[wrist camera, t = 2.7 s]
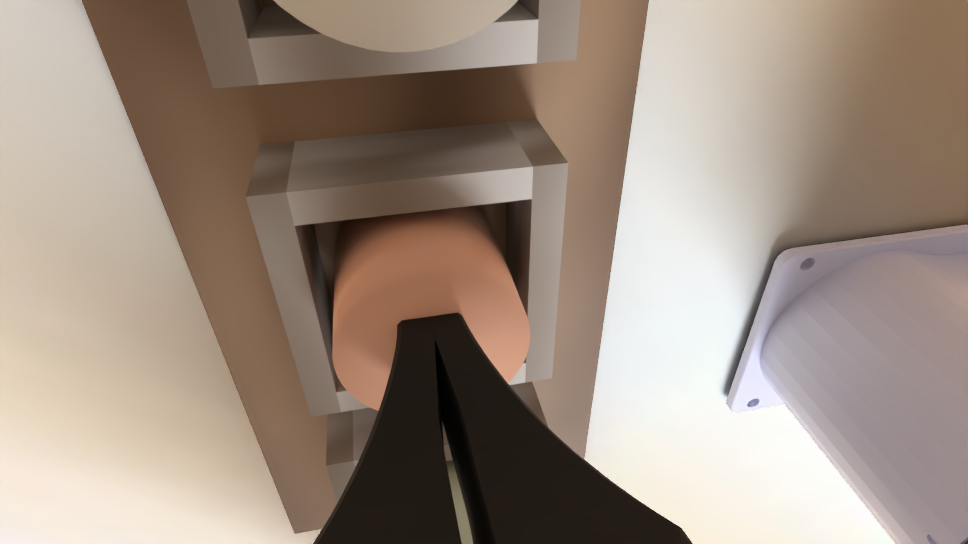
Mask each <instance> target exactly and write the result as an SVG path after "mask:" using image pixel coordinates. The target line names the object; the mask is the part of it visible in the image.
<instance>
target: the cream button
mask: <svg viewBox="0 0 968 544" xmlns="http://www.w3.org/2000/svg"><path fill="white" fill-rule="evenodd" d="M273 1H274V2H276V3H277V4H278V5H279V6H280V7H281V8H283V9H284V10H285V11H287V12H288V13H289V14H291V15H292V16H294V17H295V18H296V19H298V20H299V21H301V22H302V23H304V24H306V25H307V26H309V27H311V28H313V29H315V30H316V31H318V32H320V33H322V34H324V35H326V36H329V37H331V38H333V39H336V40H338V41H341V42H343V43H346V44H350V45H353V46H357V47H361V48H365V49H369V50H377V51H384V52H416V51H423V50H430V49H435V48H439V47H442V46H446V45H449V44H453V43H455V42H458V41H460V40H462V39H464V38H467V37H469V36H471V35H474V34H475V33H477V32H478V31H480V30H482V29H483V28H485V27H487V26H488V25H490V24H492V23H493V22H494V21H496V20H497V19H498V18H499V17H501V16H502V15H503V14H504V13H506V12H507V11H508V10H509V9H510V8H511V7H512V6H513V5H514V4H515V3H516V2H517V1H518V0H273Z"/></svg>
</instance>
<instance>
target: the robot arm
mask: <svg viewBox="0 0 968 544" xmlns="http://www.w3.org/2000/svg"><path fill="white" fill-rule="evenodd" d="M726 404H727V405H728V407H729V408H730V410H731V411H733V412H743V411H749V410H754V409H760V408H766V407H771V406H777V405H782V404H785V405H786V406H787V408H788V409H789V410H790V411H791V413H792V414H793V415H794V416H795V418H796V419H797V420H798V421H799V423H800V424H801V425H802V426H803V428H804V429H805V430H806V431H807V433H808V434H809V435H810V436H811V438H812V439H813V440H814V442H815V443H816V444H817V445H818V447H819V448H820V449H821V450H822V452H823V453H824V454H825V455H826V457H827V458H828V459H829V460H830V462H831V463H832V464H833V465H834V467H835V468H836V469H837V470H838V472H839V473H840V474H841V475H842V477H843V478H844V479H845V480H846V482H847V483H848V484H849V486H850V487H851V488H852V489H853V491H854V492H855V493H856V494H857V496H858V497H859V498H860V499H861V501H862V502H863V503H864V504H865V506H866V507H867V508H868V509H869V511H870V512H871V513H872V514H873V516H874V517H875V518H876V519H877V521H878V522H879V523H880V525H881V526H882V527H883V528H884V530H885V531H886V532H887V533H888V535H889V536H890V537H891V538H892V540H893V541H894V542H895V543H896V544H968V224H966V225H959V226H951V227H944V228H937V229H929V230H922V231H914V232H907V233H899V234H892V235H885V236H877V237H870V238H862V239H855V240H848V241H840V242H833V243H825V244H818V245H810V246H803V247H796V248H790V249H787V250H785V251H783V252H782V253H780V254H779V255H778V256H777V258H776V260H775V262H774V265H773V268H772V271H771V273H770V276H769V279H768V282H767V285H766V288H765V291H764V294H763V296H762V299H761V302H760V305H759V308H758V311H757V314H756V317H755V319H754V322H753V325H752V328H751V331H750V334H749V337H748V340H747V343H746V345H745V348H744V351H743V354H742V357H741V360H740V363H739V366H738V368H737V371H736V374H735V377H734V380H733V383H732V386H731V389H730V391H729V394H728V397H727V400H726ZM442 422H443V424H442ZM443 426H444V429H445V433H446V437H447V441H448V444H449V448H450V452H451V456H452V459H453V463H454V467H455V471H456V474H457V478H458V482H459V485H460V489H461V493H462V497H463V500H464V504H465V508H466V512H467V516H468V520H469V525H470V529H471V535H472V540H473V544H692V542H691V541H690V539H689V538H688V537H687V535H686V534H685V532H684V531H683V530H682V528H680V527H679V526H677V525H676V524H674V523H672V522H671V521H669V520H668V519H666V518H664V517H663V516H661V515H660V514H658V513H656V512H655V511H653V510H652V509H650V508H649V507H647V506H646V505H644V504H643V503H641V502H640V501H638V500H637V499H635V498H634V497H632V496H631V495H630V494H628V493H627V492H626V491H624V490H623V489H621V488H620V487H619V486H617V485H616V484H614V483H613V482H612V481H610V480H609V479H608V478H606V477H605V476H604V475H603V474H601V473H600V472H599V471H598V470H596V469H595V468H594V467H593V466H592V465H590V464H589V463H588V462H587V461H585V460H584V459H583V458H582V457H580V456H579V455H578V454H577V453H575V452H574V451H573V450H572V449H571V448H570V447H569V446H568V445H566V444H565V443H564V442H563V441H562V440H561V439H560V438H559V437H558V436H556V435H555V434H554V433H553V432H552V431H551V430H550V429H549V428H548V427H547V426H546V425H545V424H544V423H543V422H542V421H541V420H540V419H539V418H538V417H537V416H536V415H535V414H534V413H533V412H532V410H531V409H530V408H529V407H528V406H527V405H526V404H525V403H524V402H523V401H522V399H521V398H520V397H519V396H518V395H517V394H516V393H515V391H514V390H513V389H512V388H511V387H510V385H509V384H508V383H507V382H506V381H505V379H504V378H503V377H502V375H501V374H500V373H499V371H498V370H497V369H496V368H495V366H494V365H493V364H492V362H491V361H490V360H489V358H488V357H487V355H486V354H485V353H484V351H483V350H482V348H481V347H480V345H479V344H478V342H477V341H476V339H475V337H474V336H473V334H472V332H471V331H470V329H469V327H468V325H467V324H466V322H465V320H464V318H463V316H462V315H461V314H459V313H458V312H457V313H450V314H443V315H436V316H429V317H422V318H415V319H408V320H402V321H401V322H400V323H399V324H398V325H397V340H396V347H395V353H394V358H393V363H392V367H391V371H390V375H389V378H388V382H387V386H386V389H385V393H384V396H383V399H382V402H381V405H380V408H379V411H378V414H377V416H376V419H375V422H374V425H373V428H372V430H371V433H370V435H369V438H368V440H367V443H366V445H365V447H364V450H363V452H362V454H361V456H360V459H359V461H358V463H357V465H356V467H355V470H354V472H353V474H352V476H351V478H350V480H349V482H348V484H347V485H346V487H345V489H344V491H343V493H342V495H341V497H340V499H339V501H338V503H337V505H336V507H335V508H334V510H333V512H332V514H331V515H330V517H329V519H328V520H327V522H326V524H325V525H324V527H323V529H322V530H321V532H320V534H319V535H318V537H317V538H316V540H315V542H314V543H313V544H462V542H461V537H460V532H459V527H458V522H457V517H456V511H455V506H454V501H453V496H452V490H451V485H450V480H449V474H448V469H447V464H446V458H445V453H444V440H443Z"/></svg>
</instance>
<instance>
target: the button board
mask: <svg viewBox="0 0 968 544" xmlns="http://www.w3.org/2000/svg"><path fill="white" fill-rule="evenodd" d="M82 2H83V5H84V7H85V10H86V12H87V15H88V17H89V20H90V22H91V25H92V27H93V30H94V32H95V35H96V37H97V40H98V42H99V45H100V47H101V50H102V52H103V55H104V57H105V60H106V62H107V65H108V67H109V70H110V72H111V75H112V77H113V80H114V82H115V85H116V87H117V90H118V92H119V95H120V97H121V100H122V102H123V105H124V107H125V110H126V112H127V115H128V117H129V120H130V122H131V125H132V127H133V130H134V132H135V135H136V137H137V140H138V142H139V145H140V147H141V150H142V152H143V155H144V157H145V160H146V162H147V165H148V167H149V170H150V172H151V175H152V177H153V180H154V182H155V185H156V187H157V190H158V192H159V195H160V197H161V200H162V202H163V205H164V207H165V210H166V212H167V215H168V217H169V220H170V222H171V225H172V227H173V230H174V232H175V235H176V237H177V240H178V242H179V245H180V247H181V250H182V252H183V255H184V257H185V260H186V262H187V265H188V267H189V270H190V272H191V275H192V277H193V280H194V282H195V285H196V287H197V290H198V292H199V295H200V297H201V300H202V302H203V305H204V307H205V310H206V312H207V315H208V317H209V320H210V322H211V325H212V327H213V330H214V332H215V335H216V337H217V340H218V342H219V345H220V347H221V350H222V352H223V355H224V357H225V360H226V363H227V365H228V368H229V370H230V373H231V375H232V378H233V380H234V383H235V385H236V388H237V390H238V393H239V395H240V398H241V400H242V403H243V405H244V408H245V410H246V413H247V415H248V418H249V420H250V423H251V425H252V428H253V430H254V433H255V435H256V438H257V440H258V443H259V445H260V448H261V450H262V453H263V455H264V458H265V460H266V463H267V465H268V468H269V470H270V473H271V475H272V478H273V480H274V483H275V485H276V488H277V490H278V493H279V495H280V498H281V500H282V503H283V505H284V508H285V510H286V513H287V515H288V518H289V520H290V523H291V525H292V528H293V530H294V533H295V534H296V533H301V532H306V531H312V530H317V529H322V528H323V527H324V525H325V524H326V522H327V520H328V519H329V517H330V515H331V514H332V512H333V510H334V508H335V507H336V505H337V503H338V501H339V499H340V497H341V495H342V493H343V491H344V489H345V487H346V485H347V484H348V482H349V480H350V478H351V476H352V474H353V472H354V470H355V467H356V465H357V463H358V461H359V459H360V456H361V454H362V452H363V450H364V447H365V445H366V443H367V440H368V438H369V435H370V433H371V430H372V428H373V425H374V422H375V419H376V416H377V414H378V411H377V410H375V409H372V408H370V407H368V406H366V405H364V404H363V403H361V402H360V401H358V400H357V399H355V398H354V397H353V396H352V395H351V394H350V393H349V392H348V391H347V390H346V389H345V387H344V386H343V385H342V384H341V382H340V380H339V378H338V377H337V374H336V371H335V369H334V365H333V358H332V349H333V308H334V267H335V246H336V241H337V237H338V235H339V232H340V230H341V228H342V226H343V224H344V222H345V221H346V220H351V219H360V218H369V217H377V216H386V215H395V214H404V213H413V212H422V211H431V210H439V209H448V208H457V207H466V206H475V205H478V206H479V207H480V208H481V210H482V211H483V212H484V213H485V215H486V216H487V218H488V219H489V221H490V223H491V226H492V228H493V231H494V233H495V236H496V238H497V241H498V243H499V246H500V248H501V251H502V254H503V256H504V259H505V261H506V264H507V266H508V269H509V271H510V274H511V277H512V279H513V282H514V284H515V287H516V289H517V292H518V294H519V297H520V300H521V302H522V305H523V307H524V310H525V312H526V315H527V317H528V321H529V325H530V345H529V349H528V352H527V356H526V358H525V360H524V362H523V364H522V366H521V367H520V369H519V371H518V372H517V374H516V375H515V376H514V377H513V378H512V380H511V381H510V382H509V383H508V384H509V385H510V387H511V388H512V389H513V390H514V391H515V393H516V394H517V395H518V396H519V397H520V398H521V399H522V401H523V402H524V403H525V404H526V405H527V406H528V407H529V408H530V409H531V410H532V412H533V413H534V414H535V415H536V416H537V417H538V418H539V419H540V420H541V421H542V422H543V423H544V424H545V425H546V426H547V427H548V428H549V429H550V430H551V431H552V432H553V433H554V434H555V435H556V436H558V437H559V438H560V439H561V440H562V441H563V442H564V443H565V444H566V445H568V446H569V447H570V448H571V449H572V450H573V451H574V452H575V453H577V454H578V455H579V456H580V457H582V458H583V459H584V456H585V449H586V442H587V435H588V428H589V421H590V414H591V407H592V400H593V393H594V385H595V378H596V371H597V364H598V357H599V350H600V343H601V336H602V329H603V322H604V314H605V307H606V300H607V293H608V286H609V279H610V272H611V265H612V258H613V251H614V243H615V236H616V229H617V222H618V215H619V208H620V201H621V194H622V187H623V180H624V172H625V165H626V158H627V151H628V144H629V137H630V130H631V123H632V116H633V109H634V102H635V94H636V87H637V80H638V73H639V66H640V59H641V52H642V45H643V38H644V31H645V23H646V16H647V9H648V2H649V0H518V1H517V2H516V3H515V4H514V5H513V6H512V7H511V8H510V9H509V10H508V11H507V12H506V13H504V14H503V15H502V16H501V17H499V18H498V19H497V20H496V21H494V22H493V23H492V24H490V25H488V26H487V27H485V28H483V29H482V30H480V31H478V32H477V33H475V34H474V35H471V36H469V37H467V38H464V39H462V40H460V41H458V42H455V43H453V44H449V45H446V46H442V47H439V48H435V49H430V50H423V51H416V52H384V51H377V50H369V49H365V48H361V47H357V46H353V45H350V44H346V43H343V42H341V41H338V40H336V39H333V38H331V37H329V36H326V35H324V34H322V33H320V32H318V31H316V30H315V29H313V28H311V27H309V26H307V25H306V24H304V23H302V22H301V21H299V20H298V19H296V18H295V17H294V16H292V15H291V14H289V13H288V12H287V11H285V10H284V9H283V8H281V7H280V6H279V5H278V4H277V3H276V2H274V1H273V0H82ZM442 424H443V422H442ZM443 440H444V453H445V458H446V461H450V460H453V459H452V456H451V452H450V448H449V444H448V441H447V437H446V433H445V429H444V426H443Z"/></svg>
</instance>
